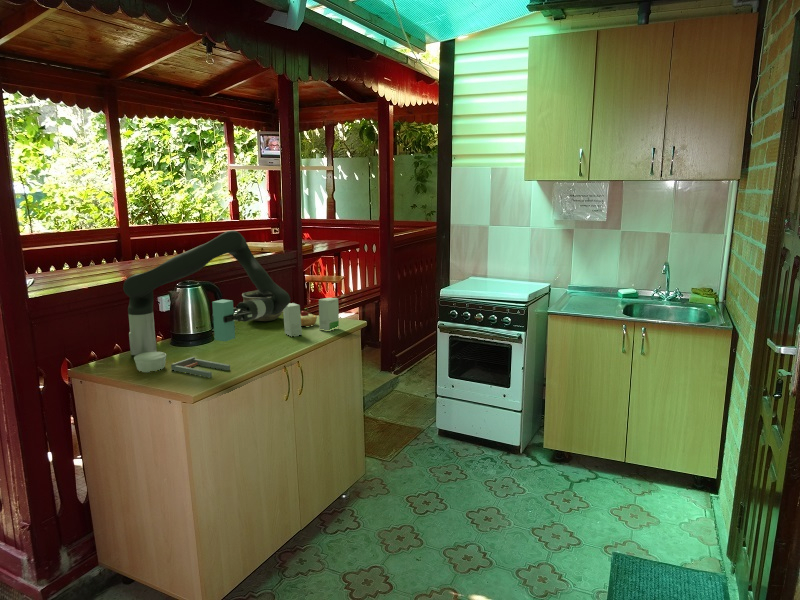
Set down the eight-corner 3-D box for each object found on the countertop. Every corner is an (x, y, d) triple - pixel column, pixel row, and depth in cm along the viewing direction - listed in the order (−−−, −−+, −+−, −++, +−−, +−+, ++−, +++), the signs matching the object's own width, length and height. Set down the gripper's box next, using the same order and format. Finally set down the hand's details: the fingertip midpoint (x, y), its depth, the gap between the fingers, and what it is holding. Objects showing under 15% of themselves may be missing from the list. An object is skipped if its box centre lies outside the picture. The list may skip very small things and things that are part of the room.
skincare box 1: (302, 335, 249) (301, 305, 246) (290, 337, 246) (288, 306, 243) (295, 332, 256) (294, 302, 253) (283, 333, 253) (282, 303, 250)
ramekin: (165, 372, 197) (164, 358, 196) (132, 374, 194) (131, 361, 193) (169, 363, 208) (168, 350, 207) (138, 365, 204) (136, 352, 203)
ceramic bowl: (294, 318, 286) (293, 290, 283) (268, 326, 266) (267, 297, 264) (261, 314, 295) (260, 288, 292) (234, 322, 275) (232, 294, 272)
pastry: (288, 327, 266) (288, 310, 264) (299, 322, 277) (299, 305, 275) (310, 329, 262) (309, 311, 261) (320, 323, 274) (320, 307, 272)
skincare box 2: (328, 332, 256) (328, 300, 253) (318, 330, 259) (317, 299, 256) (339, 328, 263) (339, 298, 260) (329, 327, 266) (328, 296, 263)
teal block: (214, 339, 190) (212, 301, 187) (224, 336, 194) (222, 299, 191) (225, 341, 187) (222, 303, 185) (235, 338, 192) (232, 300, 189)
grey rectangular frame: (171, 370, 198) (171, 364, 198) (193, 363, 208) (192, 356, 207) (209, 378, 190) (209, 371, 190) (230, 369, 199) (229, 363, 199)
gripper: (236, 298, 204) (202, 306, 189) (265, 301, 198) (232, 310, 183) (237, 317, 206) (203, 327, 191) (266, 321, 200) (234, 331, 184)
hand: (218, 318), depth 187 cm, fingers closed on teal block, 5 cm apart
